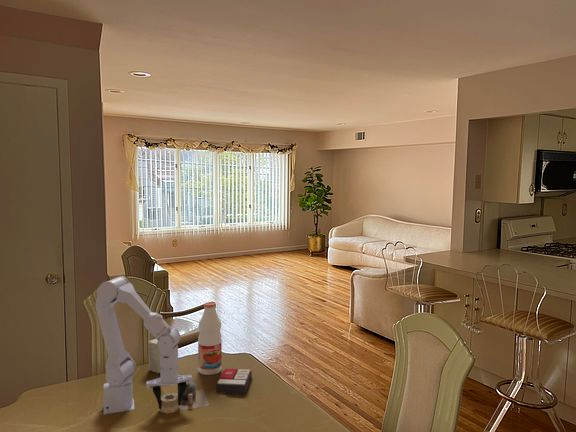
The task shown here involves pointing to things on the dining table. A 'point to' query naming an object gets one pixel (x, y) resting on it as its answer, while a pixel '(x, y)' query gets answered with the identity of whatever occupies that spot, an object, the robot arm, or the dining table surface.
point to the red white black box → (234, 381)
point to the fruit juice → (209, 341)
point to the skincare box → (154, 356)
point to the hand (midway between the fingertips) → (169, 406)
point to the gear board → (192, 398)
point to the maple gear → (169, 403)
